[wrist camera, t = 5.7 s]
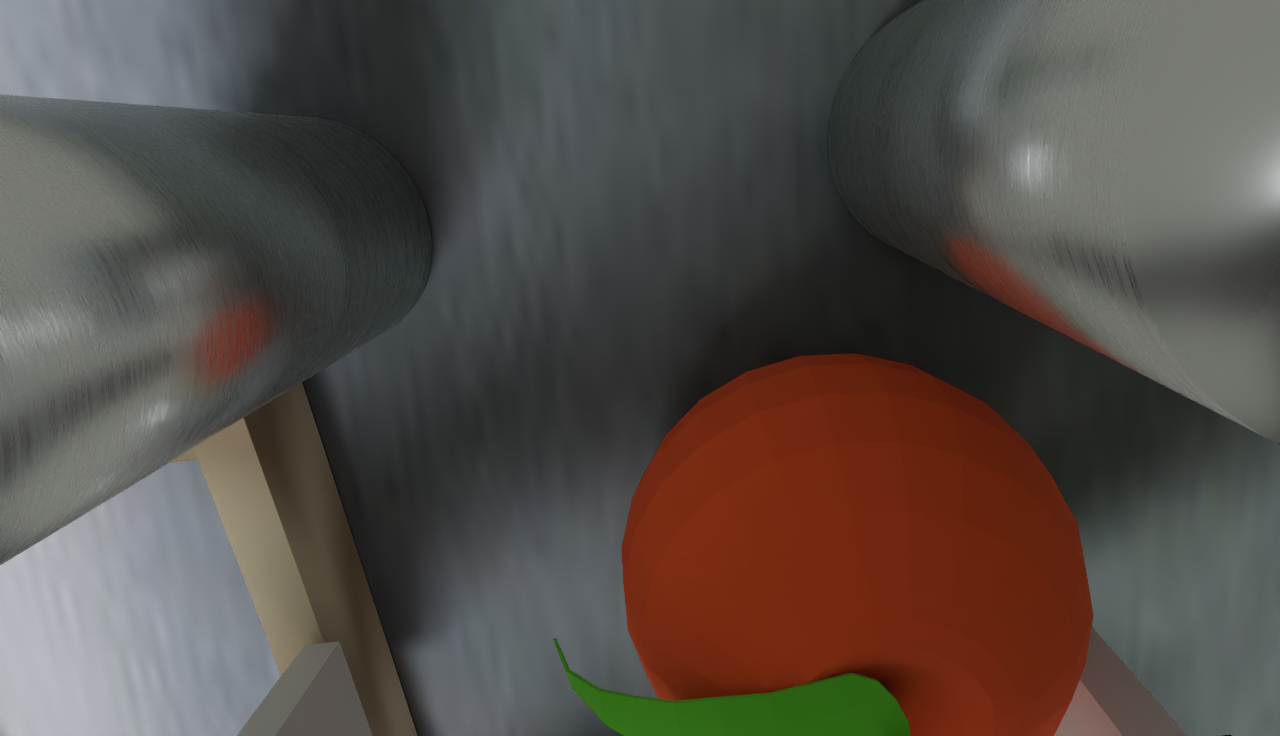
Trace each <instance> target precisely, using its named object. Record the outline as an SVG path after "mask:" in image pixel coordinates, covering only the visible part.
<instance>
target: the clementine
mask: <svg viewBox="0 0 1280 736" xmlns="http://www.w3.org/2000/svg"><path fill="white" fill-rule="evenodd" d="M622 564H623V582H624V593H625V604H626V615H627V626H628V631H629V634H630V636H631V639H632V641H633V643H634V646H635V648H636V651H637V653H638V655H639V658H640V660H641V663H642V665H643V668H644V670H645V672H646V675H647V677H648V679H649V681H650V683H651V685H652V687H653V689H654V691H655V693H656V695H657V697H658V698H659V699H655V698H648V697H640V696H633V695H628V694H623V693H619V692H614V691H609V690H604V689H600V688H598V687H596V686H595V685H593V684H592V683H590V682H588V681H587V680H585V679H584V678H582V677H580V676H579V675H577V674H576V673H574V672H572V671H571V670H570V669H569V666H568V664H567V662H566V660H565V657H564V655H563V653H562V651H561V648H560V646H559V644H558V642H557V639H556V638H555V639H553V640H554V642H555V645H556V648H557V650H558V653H559V655H560V658H561V661H562V663H563V666H564V668H565V671H566V674H567V676H568V679H569V681H570V684H571V687H572V689H573V690H574V691H575V692H576V693H577V694H578V695H579V696H580V697H581V698H582V700H583V701H584V702H585V703H586V704H587V705H588V706H589V707H590V708H591V709H592V710H593V711H594V712H595V713H596V714H597V716H598V717H599V718H600V719H601V720H602V721H603V722H604V723H605V724H606V725H607V726H608V727H610V728H612V729H613V730H615V731H617V732H618V733H620V734H622V735H624V736H1054V735H1055V733H1056V731H1057V729H1058V727H1059V725H1060V723H1061V721H1062V719H1063V717H1064V715H1065V713H1066V711H1067V709H1068V707H1069V705H1070V703H1071V701H1072V698H1073V696H1074V693H1075V690H1076V688H1077V685H1078V683H1079V680H1080V678H1081V675H1082V672H1083V670H1084V667H1085V665H1086V659H1087V653H1088V646H1089V640H1090V633H1091V627H1092V620H1093V610H1092V604H1091V598H1090V592H1089V585H1088V579H1087V573H1086V567H1085V562H1084V556H1083V551H1082V546H1081V540H1080V535H1079V529H1078V524H1077V521H1076V519H1075V517H1074V515H1073V514H1072V512H1071V510H1070V508H1069V507H1068V505H1067V503H1066V501H1065V499H1064V498H1063V496H1062V494H1061V492H1060V490H1059V489H1058V487H1057V485H1056V483H1055V481H1054V480H1053V478H1052V476H1051V474H1050V473H1049V471H1048V470H1047V469H1046V467H1045V466H1044V464H1043V463H1042V461H1041V460H1040V459H1039V457H1038V456H1037V454H1036V453H1035V452H1034V450H1033V449H1032V447H1031V446H1030V444H1029V443H1028V442H1027V441H1026V440H1025V439H1024V438H1023V437H1022V436H1021V435H1020V434H1019V433H1018V432H1017V431H1016V430H1015V429H1013V428H1012V427H1011V426H1010V425H1009V424H1008V423H1007V422H1006V421H1005V420H1004V419H1003V418H1002V417H1001V416H1000V415H998V414H997V413H996V412H995V411H994V410H993V409H992V408H991V407H990V406H989V405H988V404H987V403H985V402H983V401H981V400H979V399H977V398H976V397H974V396H972V395H970V394H968V393H966V392H964V391H962V390H960V389H958V388H956V387H954V386H952V385H950V384H948V383H946V382H944V381H942V380H940V379H938V378H936V377H934V376H932V375H930V374H928V373H926V372H924V371H922V370H920V369H918V368H916V367H914V366H912V365H910V364H906V363H901V362H896V361H891V360H886V359H881V358H877V357H872V356H867V355H862V354H857V353H851V354H829V355H807V356H797V357H794V358H791V359H787V360H784V361H781V362H777V363H774V364H771V365H767V366H764V367H761V368H757V369H754V370H750V371H747V372H745V373H743V374H742V375H740V376H738V377H737V378H735V379H733V380H732V381H730V382H728V383H727V384H725V385H723V386H722V387H720V388H718V389H717V390H715V391H713V392H712V393H710V394H708V395H706V396H705V397H703V398H701V399H700V400H699V401H698V402H697V403H696V404H695V405H694V406H693V407H692V408H691V409H690V410H689V411H688V412H687V413H686V414H685V415H684V417H683V418H682V419H681V420H680V421H679V422H678V423H677V424H676V425H675V426H674V427H673V428H672V429H671V430H670V431H669V432H668V433H667V434H666V435H665V437H664V439H663V440H662V442H661V444H660V446H659V448H658V449H657V451H656V453H655V455H654V457H653V459H652V460H651V462H650V464H649V466H648V468H647V469H646V471H645V473H644V475H643V477H642V479H641V481H640V483H639V485H638V488H637V490H636V492H635V494H634V496H633V498H632V501H631V506H630V511H629V515H628V520H627V525H626V529H625V534H624V539H623V543H622Z"/></svg>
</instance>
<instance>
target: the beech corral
mask: <svg viewBox="0 0 1280 736" xmlns="http://www.w3.org/2000/svg"><path fill="white" fill-rule="evenodd" d="M197 459H198V461H199V464H200V466H201V469H202V472H203V474H204V477H205V479H206V482H207V484H208V487H209V490H210V492H211V495H212V497H213V500H214V502H215V505H216V508H217V510H218V513H219V515H220V518H221V521H222V523H223V526H224V528H225V531H226V533H227V536H228V539H229V541H230V544H231V546H232V549H233V551H234V554H235V557H236V559H237V562H238V564H239V567H240V569H241V572H242V575H243V577H244V580H245V582H246V585H247V588H248V590H249V593H250V595H251V598H252V600H253V603H254V606H255V608H256V611H257V613H258V616H259V618H260V621H261V624H262V626H263V629H264V631H265V634H266V636H267V639H268V642H269V644H270V647H271V649H272V652H273V655H274V657H275V660H276V662H277V665H278V667H279V670H280V673H281V675H283V673H284V672H285V671H286V669H287V668H288V667H289V665H290V664H291V663H292V661H293V660H294V659H295V657H296V656H297V655H298V653H299V652H300V651H301V649H302V648H303V646H304V645H310V644H320V643H329V642H338V641H339V642H340V645H341V648H342V650H343V653H344V656H345V659H346V662H347V665H348V667H349V670H350V673H351V676H352V679H353V682H354V684H355V687H356V690H357V693H358V696H359V699H360V701H361V704H362V707H363V710H364V713H365V716H366V718H367V721H368V724H369V727H370V730H371V732H372V735H373V736H417V733H416V729H415V726H414V723H413V720H412V717H411V714H410V711H409V708H408V705H407V702H406V699H405V696H404V693H403V690H402V687H401V684H400V680H399V677H398V674H397V671H396V668H395V665H394V662H393V659H392V656H391V653H390V650H389V647H388V644H387V641H386V638H385V635H384V631H383V628H382V625H381V622H380V619H379V616H378V613H377V610H376V607H375V604H374V601H373V598H372V595H371V592H370V589H369V586H368V582H367V579H366V576H365V573H364V570H363V567H362V564H361V561H360V558H359V555H358V552H357V549H356V546H355V543H354V540H353V536H352V533H351V530H350V527H349V524H348V521H347V518H346V515H345V512H344V509H343V506H342V503H341V500H340V497H339V494H338V491H337V487H336V484H335V481H334V478H333V475H332V472H331V469H330V466H329V463H328V460H327V457H326V454H325V451H324V448H323V445H322V442H321V438H320V435H319V432H318V429H317V426H316V423H315V420H314V417H313V414H312V411H311V408H310V405H309V402H308V399H307V396H306V393H305V389H304V386H303V383H302V382H301V383H300V384H298V385H296V386H295V387H293V388H292V389H290V390H288V391H287V392H285V393H283V394H282V395H280V396H278V397H277V398H275V399H273V400H272V401H270V402H268V403H267V404H265V405H264V406H262V407H260V408H259V409H257V410H255V411H254V412H252V413H250V414H249V415H247V416H245V417H244V418H242V419H240V420H239V421H237V422H236V423H234V424H232V425H231V426H229V427H227V428H226V429H224V430H222V431H221V432H219V433H217V434H216V435H214V436H212V437H211V438H209V439H207V440H206V441H204V442H203V443H201V444H199V445H198V446H196V447H194V448H193V449H191V450H189V451H188V452H186V453H184V454H183V455H181V456H179V457H178V458H176V459H175V460H173V461H171V462H170V463H173V462H181V461H189V460H197Z"/></svg>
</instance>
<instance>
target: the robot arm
mask: <svg viewBox="0 0 1280 736" xmlns="http://www.w3.org/2000/svg"><path fill="white" fill-rule="evenodd" d="M237 736H373V735H372V732H371V730H370V727H369V724H368V721H367V718H366V716H365V713H364V710H363V707H362V704H361V701H360V699H359V696H358V693H357V690H356V687H355V684H354V682H353V679H352V676H351V673H350V670H349V667H348V665H347V662H346V659H345V656H344V653H343V650H342V648H341V645H340V642H339V641H338V642H329V643H320V644H310V645H304V646H303V648H302V649H301V651H300V652H299V653H298V655H297V656H296V657H295V659H294V660H293V661H292V663H291V664H290V665H289V667H288V668H287V669H286V671H285V672H284V673H283V675H282V676H281V677H280V679H279V680H278V681H277V683H276V684H275V685H274V687H273V688H272V689H271V691H270V692H269V694H268V695H267V696H266V698H265V699H264V700H263V702H262V703H261V704H260V706H259V707H258V708H257V710H256V711H255V712H254V714H253V715H252V716H251V718H250V719H249V720H248V722H247V723H246V724H245V726H244V727H243V728H242V730H241V731H240V732H239V734H238V735H237ZM1054 736H1187V735H1186V734H1185V733H1184V732H1183V730H1182V729H1181V728H1180V727H1179V726H1178V725H1177V724H1176V722H1175V721H1174V720H1173V719H1172V718H1171V717H1170V716H1169V714H1168V713H1167V712H1166V711H1165V710H1164V709H1163V708H1162V706H1161V705H1160V704H1159V703H1158V702H1157V701H1156V700H1155V698H1154V697H1153V696H1152V695H1151V694H1150V693H1149V692H1148V690H1147V689H1146V688H1145V687H1144V686H1143V685H1142V684H1141V682H1140V681H1139V680H1138V679H1137V678H1136V677H1135V676H1134V674H1133V673H1132V672H1131V671H1130V670H1129V669H1128V668H1127V666H1126V665H1125V664H1124V663H1123V662H1122V661H1121V660H1120V658H1119V657H1118V656H1117V655H1116V654H1115V653H1114V652H1113V650H1112V649H1111V648H1110V647H1109V646H1108V645H1107V644H1106V642H1105V641H1104V640H1103V639H1102V638H1101V637H1100V636H1099V634H1098V633H1097V632H1096V631H1095V630H1094V629H1093V628H1092V627H1091V633H1090V640H1089V646H1088V653H1087V659H1086V665H1085V667H1084V670H1083V672H1082V675H1081V678H1080V680H1079V683H1078V685H1077V688H1076V690H1075V693H1074V696H1073V698H1072V701H1071V703H1070V705H1069V707H1068V709H1067V711H1066V713H1065V715H1064V717H1063V719H1062V721H1061V723H1060V725H1059V727H1058V729H1057V731H1056V733H1055V735H1054ZM1223 736H1231V735H1223Z"/></svg>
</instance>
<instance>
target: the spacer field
mask: <svg viewBox="0 0 1280 736" xmlns="http://www.w3.org/2000/svg"><path fill="white" fill-rule="evenodd" d="M828 157H829V164H830V170H831V173H832V177H833V180H834V184H835V186H836V188H837V191H838V193H839V195H840V198H841V199H842V201H843V203H844V204H845V206H846V207H847V209H848V211H849V212H850V213H851V214H852V216H853V217H854V218H855V219H856V220H857V222H858V223H859V224H860V225H861V226H863V227H864V228H865V229H866V230H867V231H868V232H869V233H871V234H872V235H874V236H875V237H877V238H878V239H880V240H881V241H883V242H885V243H886V244H888V245H890V246H892V247H894V248H896V249H898V250H900V251H902V252H904V253H906V254H908V255H910V256H912V257H914V258H916V259H918V260H920V261H922V262H924V263H926V264H927V265H929V266H931V267H933V268H935V269H937V270H939V271H941V272H943V273H945V274H947V275H949V276H951V277H953V278H955V279H957V280H959V281H961V282H963V283H965V284H967V285H968V286H970V287H972V288H974V289H976V290H978V291H980V292H982V293H984V294H986V295H988V296H990V297H992V298H994V299H996V300H998V301H1000V302H1002V303H1004V304H1006V305H1008V306H1009V307H1011V308H1013V309H1015V310H1017V311H1019V312H1021V313H1023V314H1025V315H1027V316H1029V317H1031V318H1033V319H1035V320H1037V321H1039V322H1041V323H1043V324H1045V325H1047V326H1048V327H1050V328H1052V329H1054V330H1056V331H1058V332H1060V333H1062V334H1064V335H1066V336H1068V337H1070V338H1072V339H1074V340H1076V341H1078V342H1080V343H1082V344H1084V345H1086V346H1088V347H1089V348H1091V349H1093V350H1095V351H1097V352H1099V353H1101V354H1103V355H1105V356H1107V357H1109V358H1111V359H1113V360H1115V361H1117V362H1119V363H1121V364H1123V365H1125V366H1127V367H1129V368H1130V369H1132V370H1134V371H1136V372H1138V373H1140V374H1142V375H1144V376H1146V377H1148V378H1150V379H1152V380H1154V381H1156V382H1158V383H1160V384H1162V385H1164V386H1166V387H1168V388H1170V389H1171V390H1173V391H1175V392H1177V393H1179V394H1181V395H1183V396H1185V397H1187V398H1189V399H1191V400H1193V401H1195V402H1197V403H1199V404H1201V405H1203V406H1205V407H1207V408H1209V409H1211V410H1212V411H1214V412H1216V413H1218V414H1220V415H1222V416H1224V417H1226V418H1228V419H1230V420H1232V421H1234V422H1236V423H1238V424H1240V425H1242V426H1244V427H1246V428H1248V429H1250V430H1251V431H1253V432H1255V433H1257V434H1259V435H1261V436H1263V437H1265V438H1267V439H1270V440H1272V441H1274V442H1276V443H1278V444H1280V0H922V1H920V2H919V3H917V4H915V5H914V6H912V7H911V8H909V9H908V10H906V11H904V12H903V13H901V14H900V15H898V16H897V17H896V18H894V19H893V20H891V21H890V22H889V23H887V24H886V25H885V26H883V27H882V28H881V29H880V30H879V31H878V32H877V33H876V34H875V35H874V36H873V37H872V38H871V39H870V40H869V41H868V42H867V43H866V44H865V46H864V47H863V48H862V49H861V50H860V51H859V53H858V54H857V56H856V57H855V59H854V60H853V62H852V63H851V65H850V66H849V68H848V69H847V71H846V73H845V75H844V77H843V79H842V81H841V83H840V85H839V88H838V91H837V93H836V96H835V99H834V102H833V106H832V110H831V114H830V118H829V127H828ZM431 257H432V237H431V229H430V224H429V218H428V215H427V212H426V209H425V205H424V203H423V200H422V198H421V196H420V194H419V191H418V189H417V187H416V186H415V184H414V182H413V181H412V179H411V177H410V176H409V174H408V173H407V172H406V170H405V169H404V168H403V166H402V165H401V164H400V163H399V161H398V160H397V159H396V158H395V157H394V156H393V155H392V154H391V153H390V152H389V151H388V150H387V149H385V148H384V147H383V146H382V145H381V144H379V143H378V142H377V141H376V140H374V139H373V138H371V137H369V136H368V135H366V134H365V133H363V132H361V131H359V130H357V129H355V128H353V127H351V126H349V125H346V124H343V123H340V122H337V121H334V120H329V119H323V118H318V117H304V116H290V115H276V114H263V113H249V112H235V111H221V110H207V109H193V108H179V107H166V106H152V105H138V104H124V103H110V102H96V101H82V100H69V99H55V98H41V97H27V96H13V95H0V565H2V564H3V563H5V562H6V561H8V560H10V559H11V558H13V557H15V556H16V555H18V554H20V553H21V552H23V551H25V550H26V549H28V548H30V547H31V546H33V545H34V544H36V543H38V542H39V541H41V540H43V539H44V538H46V537H48V536H49V535H51V534H53V533H54V532H56V531H58V530H59V529H61V528H63V527H64V526H66V525H67V524H69V523H71V522H72V521H74V520H76V519H77V518H79V517H81V516H82V515H84V514H86V513H87V512H89V511H91V510H92V509H94V508H95V507H97V506H99V505H100V504H102V503H104V502H105V501H107V500H109V499H110V498H112V497H114V496H115V495H117V494H119V493H120V492H122V491H123V490H125V489H127V488H128V487H130V486H132V485H133V484H135V483H137V482H138V481H140V480H142V479H143V478H145V477H147V476H148V475H150V474H151V473H153V472H155V471H156V470H158V469H160V468H161V467H163V466H165V465H166V464H168V463H170V462H171V461H173V460H175V459H176V458H178V457H179V456H181V455H183V454H184V453H186V452H188V451H189V450H191V449H193V448H194V447H196V446H198V445H199V444H201V443H203V442H204V441H206V440H207V439H209V438H211V437H212V436H214V435H216V434H217V433H219V432H221V431H222V430H224V429H226V428H227V427H229V426H231V425H232V424H234V423H236V422H237V421H239V420H240V419H242V418H244V417H245V416H247V415H249V414H250V413H252V412H254V411H255V410H257V409H259V408H260V407H262V406H264V405H265V404H267V403H268V402H270V401H272V400H273V399H275V398H277V397H278V396H280V395H282V394H283V393H285V392H287V391H288V390H290V389H292V388H293V387H295V386H296V385H298V384H300V383H301V382H303V381H305V380H306V379H308V378H310V377H311V376H313V375H315V374H316V373H318V372H320V371H321V370H323V369H324V368H326V367H328V366H329V365H331V364H333V363H334V362H336V361H338V360H339V359H341V358H343V357H344V356H346V355H348V354H349V353H351V352H352V351H354V350H356V349H357V348H359V347H361V346H362V345H364V344H366V343H367V342H369V341H371V340H372V339H374V338H376V337H377V336H379V335H380V334H382V333H384V332H385V331H387V330H389V329H390V328H392V327H393V326H394V325H396V324H397V323H398V322H400V321H401V320H402V319H403V318H404V317H405V316H406V315H407V314H408V313H409V312H410V311H411V309H412V308H413V306H414V305H415V304H416V302H417V301H418V299H419V297H420V295H421V293H422V291H423V289H424V287H425V284H426V281H427V278H428V275H429V270H430V265H431Z"/></svg>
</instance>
